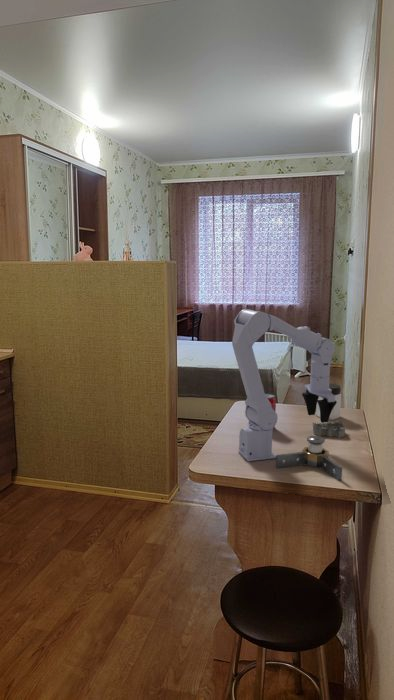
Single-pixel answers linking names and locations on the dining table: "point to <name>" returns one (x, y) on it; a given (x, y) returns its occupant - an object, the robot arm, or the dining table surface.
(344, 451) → the dining table surface
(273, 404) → the soda can
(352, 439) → the dining table surface
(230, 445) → the dining table surface
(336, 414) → the jar
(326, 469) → the hinge
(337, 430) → the egg carton
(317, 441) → the pin
